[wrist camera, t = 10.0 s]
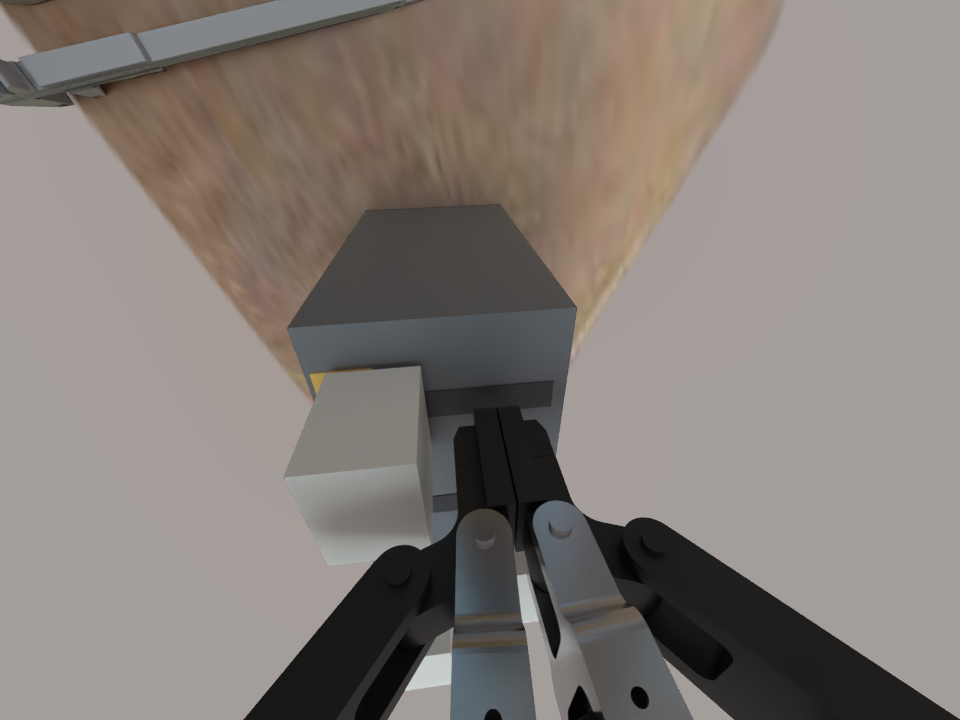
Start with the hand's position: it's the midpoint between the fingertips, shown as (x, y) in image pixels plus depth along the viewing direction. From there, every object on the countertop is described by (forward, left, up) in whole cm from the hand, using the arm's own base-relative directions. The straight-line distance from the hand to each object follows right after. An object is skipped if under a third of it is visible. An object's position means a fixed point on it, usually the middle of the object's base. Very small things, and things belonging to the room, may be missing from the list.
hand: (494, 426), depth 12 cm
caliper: (-11, +12, -18) cm, 24 cm away
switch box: (-2, -6, -18) cm, 19 cm away
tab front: (-4, 0, -1) cm, 4 cm away
